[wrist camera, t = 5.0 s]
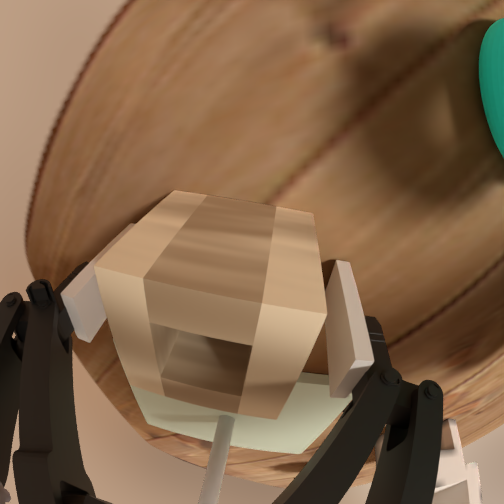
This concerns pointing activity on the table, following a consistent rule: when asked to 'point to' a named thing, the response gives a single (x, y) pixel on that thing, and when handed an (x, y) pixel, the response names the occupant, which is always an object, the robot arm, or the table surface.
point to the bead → (215, 301)
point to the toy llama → (451, 470)
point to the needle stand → (246, 424)
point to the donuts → (493, 80)
